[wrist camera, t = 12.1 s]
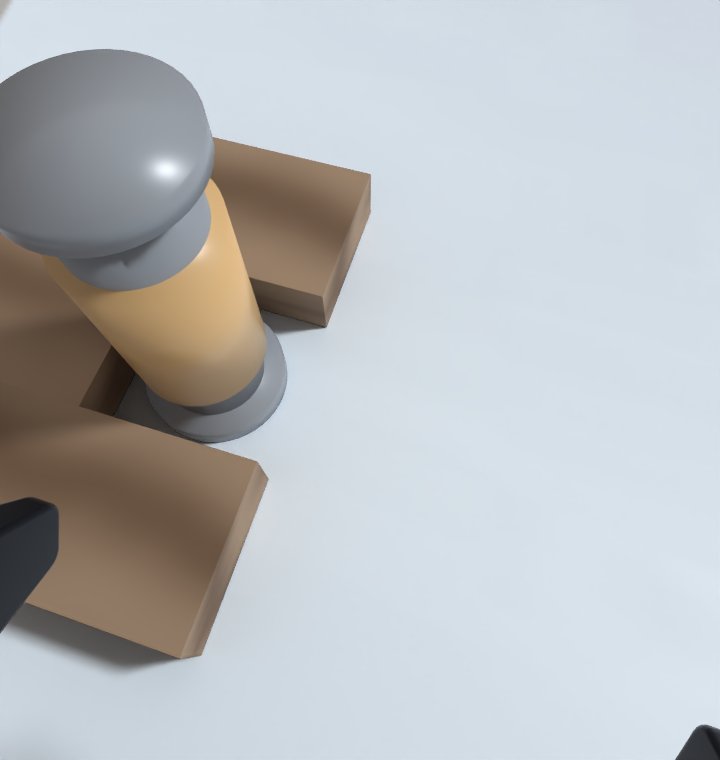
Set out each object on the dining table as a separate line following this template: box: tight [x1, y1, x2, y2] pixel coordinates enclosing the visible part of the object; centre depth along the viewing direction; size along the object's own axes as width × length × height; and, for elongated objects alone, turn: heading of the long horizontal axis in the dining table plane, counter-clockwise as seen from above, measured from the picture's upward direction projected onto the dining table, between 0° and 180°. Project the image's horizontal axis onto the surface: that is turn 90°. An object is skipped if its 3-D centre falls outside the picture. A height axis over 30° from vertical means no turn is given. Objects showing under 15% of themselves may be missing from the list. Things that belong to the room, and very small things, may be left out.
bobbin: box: [0, 49, 287, 442], centre depth 18 cm, size 6×6×13 cm
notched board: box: [0, 137, 371, 659], centre depth 24 cm, size 20×14×2 cm
